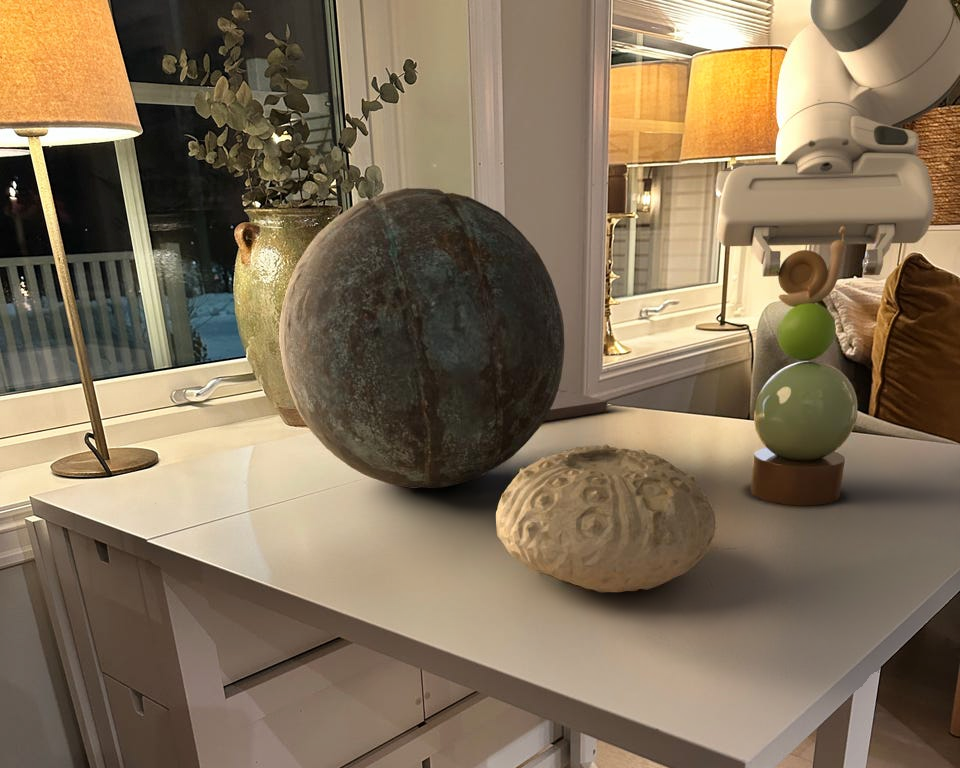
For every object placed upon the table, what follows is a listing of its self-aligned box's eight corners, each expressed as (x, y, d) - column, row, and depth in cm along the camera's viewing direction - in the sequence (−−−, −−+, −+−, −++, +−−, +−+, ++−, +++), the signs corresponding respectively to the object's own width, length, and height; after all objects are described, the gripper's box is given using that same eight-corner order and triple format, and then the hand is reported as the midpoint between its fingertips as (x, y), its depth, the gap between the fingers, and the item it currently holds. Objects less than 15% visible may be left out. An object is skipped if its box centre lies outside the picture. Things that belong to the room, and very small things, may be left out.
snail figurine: (849, 354, 88) (848, 220, 85) (778, 361, 90) (776, 231, 87) (843, 358, 93) (842, 232, 90) (777, 365, 95) (774, 241, 92)
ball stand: (783, 475, 103) (799, 351, 98) (863, 494, 96) (885, 361, 90) (726, 491, 98) (738, 361, 92) (806, 513, 91) (825, 373, 85)
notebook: (485, 430, 127) (606, 411, 137) (484, 419, 126) (607, 400, 136) (441, 415, 137) (557, 398, 146) (440, 404, 136) (557, 388, 146)
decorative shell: (750, 570, 77) (764, 452, 73) (629, 639, 66) (636, 504, 61) (582, 527, 88) (584, 423, 84) (452, 579, 77) (447, 461, 72)
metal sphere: (508, 442, 121) (505, 188, 108) (607, 504, 95) (620, 180, 82) (279, 465, 112) (247, 193, 99) (321, 540, 86) (285, 186, 74)
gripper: (719, 139, 92) (714, 249, 88) (936, 131, 89) (943, 245, 84) (713, 189, 98) (709, 294, 94) (916, 183, 95) (922, 293, 90)
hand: (821, 271), depth 89 cm, fingers open, 8 cm apart
